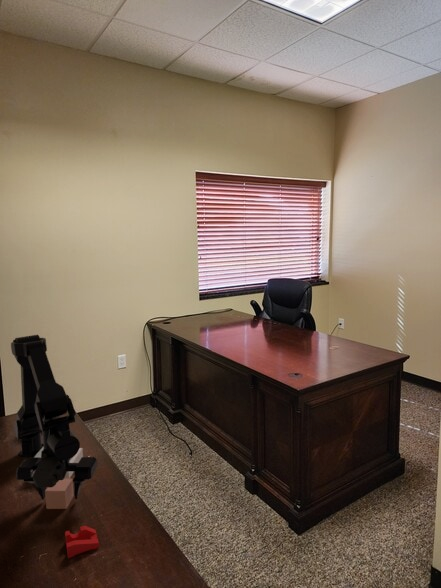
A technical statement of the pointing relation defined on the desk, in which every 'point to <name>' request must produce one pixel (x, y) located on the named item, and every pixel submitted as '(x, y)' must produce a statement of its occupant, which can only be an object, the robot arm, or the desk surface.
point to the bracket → (81, 541)
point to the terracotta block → (59, 494)
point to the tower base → (78, 456)
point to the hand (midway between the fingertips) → (60, 498)
